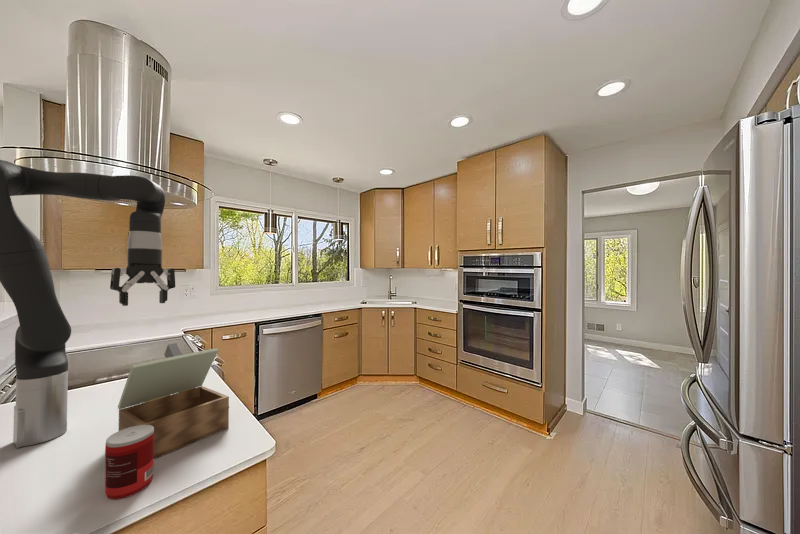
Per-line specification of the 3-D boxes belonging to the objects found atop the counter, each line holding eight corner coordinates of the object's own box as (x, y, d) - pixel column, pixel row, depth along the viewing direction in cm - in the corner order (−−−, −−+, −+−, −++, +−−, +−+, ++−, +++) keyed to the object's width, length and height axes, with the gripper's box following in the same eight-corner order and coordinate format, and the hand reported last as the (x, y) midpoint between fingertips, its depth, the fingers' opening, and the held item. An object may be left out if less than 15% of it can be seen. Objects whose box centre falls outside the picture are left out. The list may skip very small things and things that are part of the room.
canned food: (148, 469, 69) (149, 420, 69) (157, 485, 63) (158, 432, 64) (101, 488, 63) (102, 434, 63) (107, 506, 58) (108, 448, 58)
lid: (133, 367, 74) (126, 350, 77) (118, 409, 79) (113, 391, 82) (218, 350, 91) (210, 336, 94) (201, 385, 96) (194, 371, 99)
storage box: (141, 465, 70) (142, 426, 70) (118, 444, 79) (118, 410, 79) (228, 427, 87) (228, 396, 87) (201, 414, 96) (201, 385, 96)
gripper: (116, 245, 79) (115, 307, 78) (179, 249, 91) (179, 302, 90) (107, 247, 83) (106, 306, 82) (168, 250, 95) (168, 301, 94)
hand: (144, 304), depth 86 cm, fingers open, 8 cm apart
